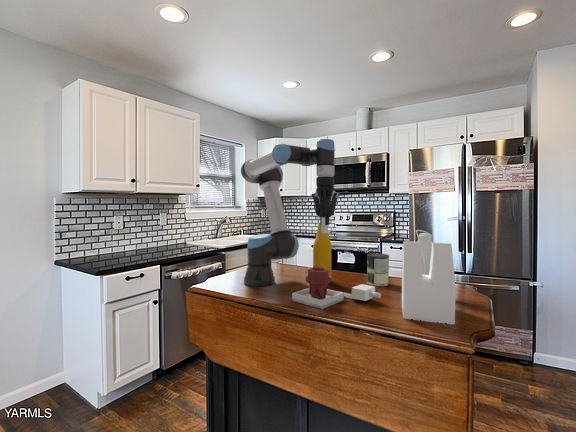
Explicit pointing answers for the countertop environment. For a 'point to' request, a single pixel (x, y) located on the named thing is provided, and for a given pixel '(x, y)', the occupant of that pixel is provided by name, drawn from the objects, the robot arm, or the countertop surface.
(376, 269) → the coffee can
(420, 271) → the white notched block
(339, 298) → the tray
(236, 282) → the countertop surface
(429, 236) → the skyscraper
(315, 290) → the mechanical component
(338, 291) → the track
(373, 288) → the block
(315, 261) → the beer bottle
